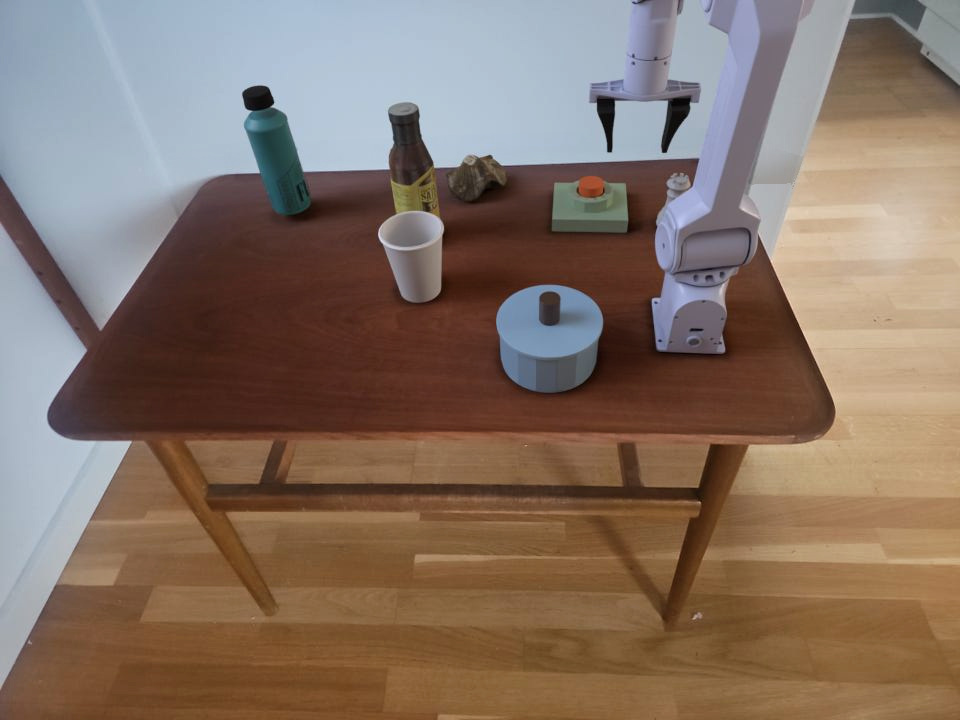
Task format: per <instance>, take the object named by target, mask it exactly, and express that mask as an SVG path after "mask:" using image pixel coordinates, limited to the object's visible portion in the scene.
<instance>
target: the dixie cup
mask: <svg viewBox="0 0 960 720" xmlns="http://www.w3.org/2000/svg"><path fill="white" fill-rule="evenodd" d="M444 232H445V225H444V223H443V220H442V219H441V218H440V219H439V218H438V217H437V216H435V215H433V214H431V213H428V212H423V211H408V212H403V213H399V214H396V213H395V215H392V216H391V217H389V218H388V219H386V220H385V221H384V222H383V223H382V224H381V225H380V227H379V229H378V233H377V234H378V235H377V236H378V239H379V241H380V243H381V244H382V245H383V249H384V251H385V254H386V256H387V259H388V262H389V265H390V268H391V270H392V273H393V276H394V279H395V282H396V284H397V287H398V289H399V293H400V295H401V297H402V298H403V299H404V300H406V301H408V302H410V303H415V304H421V303H426V302H429V301H432V300H434V299H435V298H436V297H437V296H439V294H440V293H441V291H442V290H441V289H442V262H443V261H442V260H443V234H444Z"/></svg>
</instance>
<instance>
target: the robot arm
mask: <svg viewBox="0 0 960 720" xmlns="http://www.w3.org/2000/svg"><path fill="white" fill-rule="evenodd" d="M630 1H631V3H630V14H629V22H628V23H629V24H628V32H627V33H628V34H627V43H626V53H625V60H624V71H623V78H622V79H615V80H610V81H609V80H608V81H603V82H590V83H589V89H588V90H589V91H588V93H589V94H588V104H596V113H597V116H598V118H599V120H600V123H601V126H602V128H603V131H604V136H605V141H606V152H607V154H612V153H613V146H614V145H613V144H614V126H615V119H616V102H635V101H636V102H640V103H642V102H643V103H649V102H667V106H666V115H665V122H664V127H663V131H662V136H661V141H660V142H661V143H660V149H661V153H662V154H667V153H668V151H669V147H670V145H671V142H672V140H673V138H674V137H675V134H676V133H677V131H678V130H679V129H680V126H681V125H682V124H683V123H684V121H685V120H686V119H687V118H688V117H689V115H690V112H691V104H699V103H700V98H701V93H702V86H701V82H696V81H695V82H692V81H682V80H677V79H669V73H670V67H671V61H672V53H673V47H674V40H675V35H676V29H677V28H676V27H677V21H678V16H679V15H681V14H682V11H683V9H684V4H685V0H630ZM699 1H700V5H701V8H702V10H703V12H704V15H705V18H706V23H707V25H709V26H711V27H713V28H715V29H717V30H719V31H721V32H723V33H724V34H726V35H727V37H728V43H727V47H726V50H725V55H724V59H723V63H722V67H721V71H720V75H719V78H718V83H717V87H716V91H715V95H714V99H713V104H712V106H711V111H710V115H709V119H708V124H707V126H706V127H707V128H706V131H705V135H704V140H703V144H702V146H701V152H700V156H699V160H698V163H697V168H696V171H695V176H694V179H693V184H692V185H691V186H690V187H689V188H688V189H687V190H686V192H685V193H683V194H682V195H680V196H679V197H677V198H676V199H674V200H673V201H671V202H670V203H669V204H668V205H667V208H666V211H665V214H664V217H663V219H662V221H661V222H660V224H659V225H658V226H657V228H656V231H655V236H654V238H655V239H654V248H655V250H654V251H655V256H656V259H657V263H658V265H659V267H660V269H662V270H663V271H664V278H663V282H662V288H661V293H660V297H652V298H651V309H652V310H651V311H652V320H653V329H654V338H655V339H654V341H655V349H656V351H658V352H662V353H686V354H687V353H688V354H690V353H691V354H712V355H716V354H717V355H723V354H725V352H726V346H725V341H724V337H723V331H724V328H725V324H726V321H727V317H728V311H727V307H726V293H727V290H728V286H729V282H730V279H731V277H732V276H736V275H738V272H739V269H740V267H744V266H748V265H749V264H750V263H751V262H752V260H753V258H754V257H755V255H756V252H757V249H758V243H759V230H760V229H759V228H760V226H761V222H762V217H761V214H760V211H759V209H758V207H757V205H756V203H755V201H754V200H753V199H752V198H751V197H750V196H749V195H748V194H746V193H745V190H746V188H747V185H748V182H749V179H750V176H751V173H752V168H753V167H754V163H755V160H756V157H757V154H758V151H759V148H760V145H761V142H762V139H763V137H764V133H765V131H766V126H767V124H768V120H769V117H770V114H771V112H772V108H773V105H774V101H775V99H776V96H777V93H778V89H779V87H780V83H781V81H782V77H783V74H784V72H785V68H786V65H787V61H788V58H789V56H790V52H791V50H792V47H793V44H794V40H795V37H796V33H797V31H798V27H799V23H800V22H801V21H803V20H804V19H805V18H807V16H809V15H810V14H811V13H812V10H813V8H814V3H815V2H816V0H699Z"/></svg>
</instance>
